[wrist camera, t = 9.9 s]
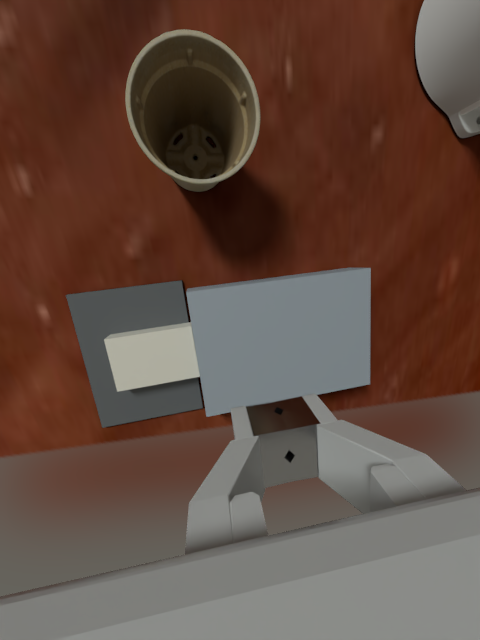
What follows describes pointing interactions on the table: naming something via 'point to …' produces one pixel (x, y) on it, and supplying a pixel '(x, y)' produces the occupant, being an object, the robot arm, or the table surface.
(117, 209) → the table surface
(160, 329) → the cream flat block
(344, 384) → the plate
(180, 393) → the mat
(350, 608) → the robot arm
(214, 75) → the flower pot
